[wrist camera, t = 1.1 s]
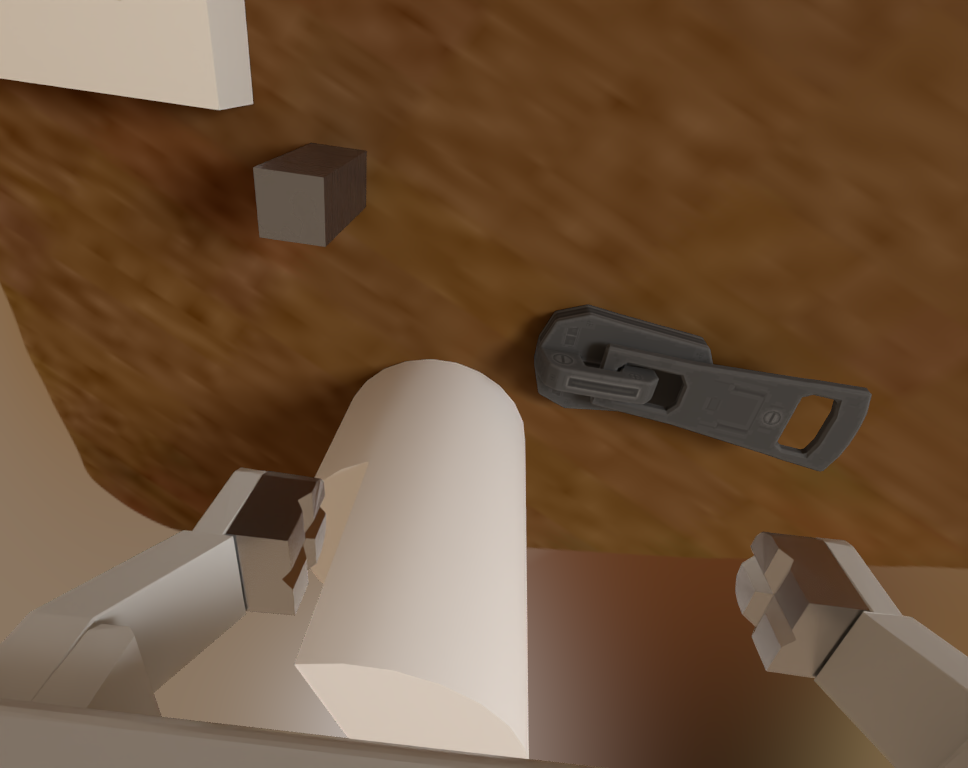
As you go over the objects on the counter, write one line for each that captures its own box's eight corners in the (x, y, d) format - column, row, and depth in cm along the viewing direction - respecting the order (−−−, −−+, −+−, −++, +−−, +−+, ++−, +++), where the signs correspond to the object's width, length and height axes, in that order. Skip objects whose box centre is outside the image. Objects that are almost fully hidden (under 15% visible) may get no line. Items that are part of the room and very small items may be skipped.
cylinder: (501, 341, 46) (480, 645, 23) (541, 490, 55) (557, 824, 31) (317, 379, 50) (129, 681, 26) (382, 514, 58) (286, 835, 34)
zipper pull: (828, 480, 44) (526, 432, 43) (793, 432, 50) (525, 388, 49) (888, 389, 39) (551, 332, 39) (842, 347, 45) (547, 297, 44)
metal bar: (311, 142, 39) (253, 167, 30) (366, 150, 39) (323, 177, 31) (313, 199, 41) (259, 237, 33) (365, 207, 41) (325, 246, 33)
